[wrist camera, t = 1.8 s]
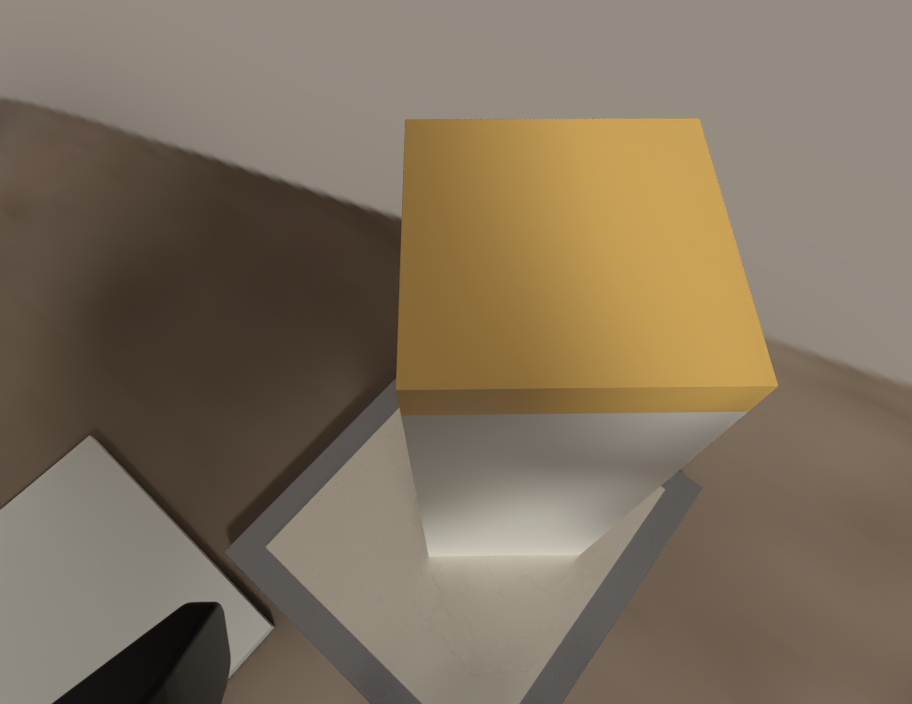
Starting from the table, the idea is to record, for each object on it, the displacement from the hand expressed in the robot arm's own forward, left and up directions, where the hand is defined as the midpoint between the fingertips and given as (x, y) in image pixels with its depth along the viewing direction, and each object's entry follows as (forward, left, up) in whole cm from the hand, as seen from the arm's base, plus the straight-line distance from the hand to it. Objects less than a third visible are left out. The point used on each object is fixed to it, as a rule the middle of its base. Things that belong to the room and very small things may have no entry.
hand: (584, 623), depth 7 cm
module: (+4, +3, -10) cm, 11 cm away
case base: (+2, +3, -11) cm, 12 cm away
